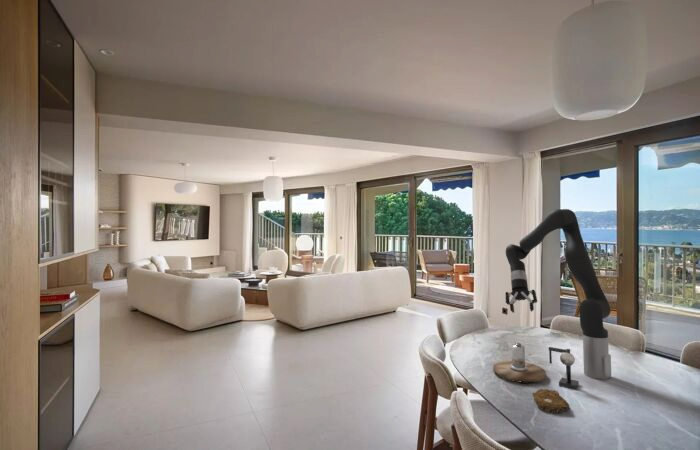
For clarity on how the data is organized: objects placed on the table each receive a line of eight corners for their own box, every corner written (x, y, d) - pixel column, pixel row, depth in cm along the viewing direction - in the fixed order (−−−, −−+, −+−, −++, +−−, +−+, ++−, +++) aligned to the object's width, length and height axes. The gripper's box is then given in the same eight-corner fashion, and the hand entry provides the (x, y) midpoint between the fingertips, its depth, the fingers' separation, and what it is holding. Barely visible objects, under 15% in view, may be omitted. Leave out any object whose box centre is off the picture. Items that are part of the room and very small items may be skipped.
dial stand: (578, 384, 150) (577, 349, 150) (576, 389, 146) (574, 352, 146) (551, 378, 157) (550, 344, 157) (548, 383, 152) (547, 347, 152)
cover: (530, 369, 161) (529, 344, 161) (521, 372, 157) (521, 347, 157) (515, 364, 166) (515, 340, 166) (507, 368, 162) (506, 343, 163)
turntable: (555, 374, 159) (555, 370, 159) (528, 386, 147) (528, 382, 147) (510, 360, 176) (510, 357, 176) (483, 370, 164) (483, 366, 164)
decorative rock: (527, 395, 142) (539, 416, 128) (526, 385, 142) (538, 404, 128) (559, 396, 140) (575, 417, 125) (559, 385, 140) (574, 405, 125)
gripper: (502, 279, 190) (504, 310, 182) (532, 276, 182) (536, 308, 174) (506, 284, 195) (509, 314, 187) (535, 281, 187) (539, 313, 179)
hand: (522, 311), depth 181 cm, fingers open, 8 cm apart
